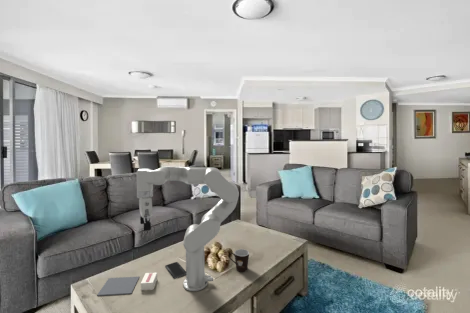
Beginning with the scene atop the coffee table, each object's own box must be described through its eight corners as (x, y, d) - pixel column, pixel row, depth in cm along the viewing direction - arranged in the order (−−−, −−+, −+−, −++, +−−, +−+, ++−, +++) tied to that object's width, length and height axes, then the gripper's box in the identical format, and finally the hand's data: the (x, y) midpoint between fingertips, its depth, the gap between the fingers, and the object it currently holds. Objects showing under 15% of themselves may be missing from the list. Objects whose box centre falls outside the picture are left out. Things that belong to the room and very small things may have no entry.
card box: (157, 279, 134) (157, 272, 134) (153, 290, 125) (152, 282, 125) (145, 280, 134) (145, 272, 133) (140, 290, 125) (140, 283, 125)
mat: (139, 277, 136) (139, 276, 136) (131, 293, 122) (131, 292, 122) (108, 278, 134) (108, 278, 134) (97, 295, 120) (97, 294, 120)
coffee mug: (252, 268, 145) (252, 252, 144) (242, 275, 138) (242, 257, 137) (237, 261, 153) (237, 246, 152) (227, 267, 146) (227, 251, 145)
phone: (174, 277, 134) (164, 265, 147) (174, 279, 134) (164, 267, 147) (187, 273, 139) (177, 261, 151) (187, 274, 139) (177, 263, 151)
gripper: (156, 196, 118) (156, 231, 119) (149, 189, 133) (149, 220, 134) (139, 198, 114) (140, 234, 116) (134, 190, 129) (134, 222, 131)
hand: (145, 226), depth 125 cm, fingers open, 9 cm apart
